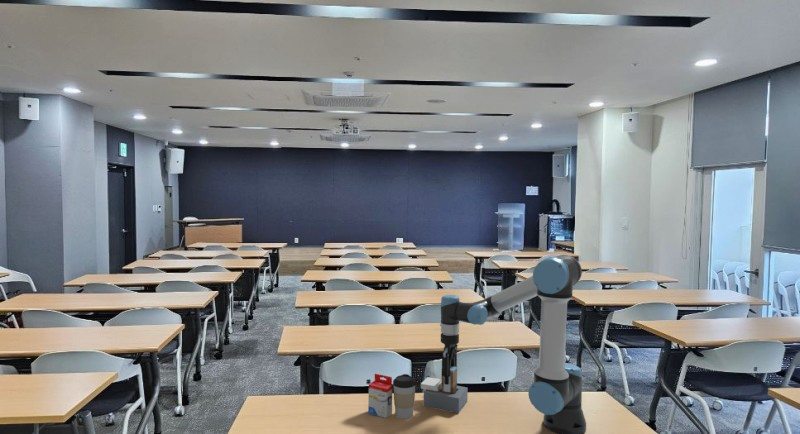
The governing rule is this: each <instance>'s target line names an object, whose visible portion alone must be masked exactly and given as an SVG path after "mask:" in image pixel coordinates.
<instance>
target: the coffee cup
mask: <svg viewBox="0 0 800 434" xmlns="http://www.w3.org/2000/svg"><path fill="white" fill-rule="evenodd" d="M392 385H393V386H392V387H393V388H392V392H393V404H394V412H395V413H394V414H395V417H396V418H397V419H401V420H408V419H411V418H413V416H414V406H415V399H416V385H417V381H416V379H415V378H414V377H413V376H410V375H409V374H407V373H404V374H401V375H397V376H396V377H395V378H394V379H392Z"/></svg>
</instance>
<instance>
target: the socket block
mask: <svg viewBox="0 0 800 434" xmlns="http://www.w3.org/2000/svg"><path fill="white" fill-rule="evenodd" d="M468 391H469V390H468V386H467V387H465V386H461V385H457V392H456V393H455V394H449V393H443V392H441V388H440V389H439V391H438V392H437V391H432V390H427V389H424V391H423V407H425V408H431V409H436V410H440V411H444V410H445V412H449V411H450V413H454V412H455V413H454V414H460V412H461V411H462V410H463V409H464V407H465V406H466V404H467V403H468V398H469V397H468V394H469V393H468Z"/></svg>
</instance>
